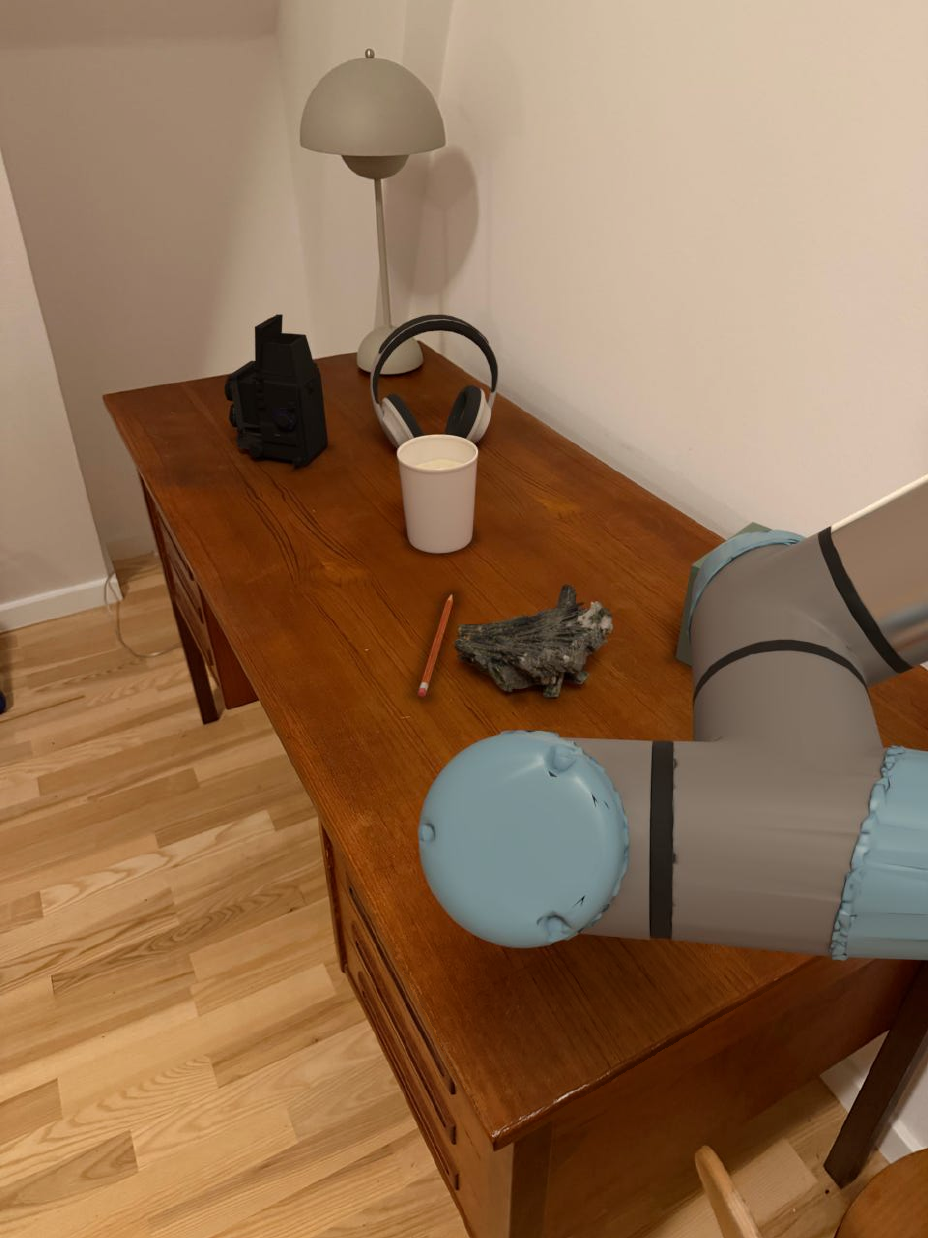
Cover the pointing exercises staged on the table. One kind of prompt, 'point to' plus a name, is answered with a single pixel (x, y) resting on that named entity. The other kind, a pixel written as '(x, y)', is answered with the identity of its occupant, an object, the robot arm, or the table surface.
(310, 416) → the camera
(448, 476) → the candle holder
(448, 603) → the pencil
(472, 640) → the mineral specimen
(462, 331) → the headphones
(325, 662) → the table surface
